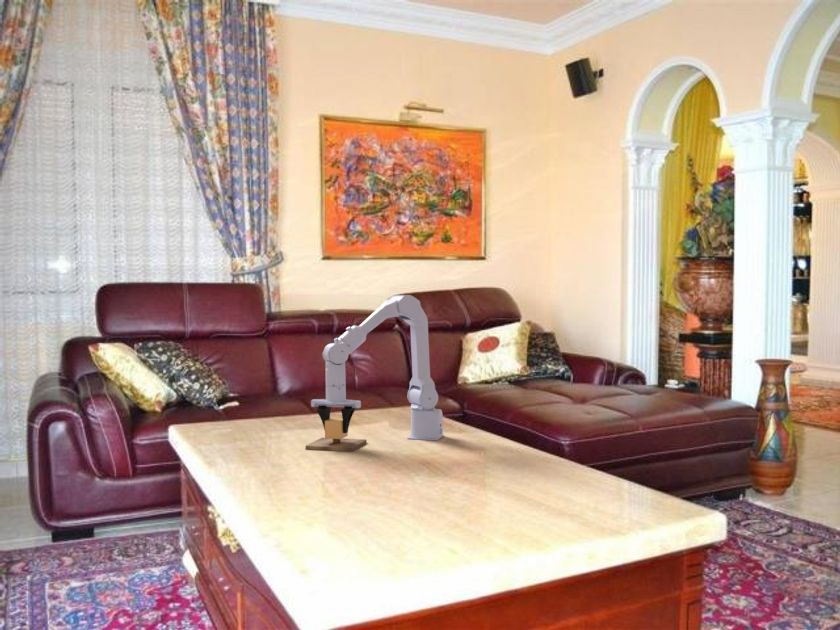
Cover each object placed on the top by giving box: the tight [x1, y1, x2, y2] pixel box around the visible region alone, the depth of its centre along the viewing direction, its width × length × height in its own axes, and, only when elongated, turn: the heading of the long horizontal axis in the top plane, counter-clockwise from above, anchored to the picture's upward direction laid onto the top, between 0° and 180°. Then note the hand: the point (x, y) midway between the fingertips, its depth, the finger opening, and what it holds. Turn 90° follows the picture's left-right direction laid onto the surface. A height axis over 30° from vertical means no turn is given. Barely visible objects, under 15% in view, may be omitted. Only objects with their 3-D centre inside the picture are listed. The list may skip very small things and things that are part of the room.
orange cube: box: [324, 417, 349, 439], centre depth 213 cm, size 5×5×5 cm
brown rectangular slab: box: [305, 437, 368, 452], centre depth 213 cm, size 14×12×5 cm
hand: (336, 432), depth 213 cm, fingers closed on orange cube, 5 cm apart
